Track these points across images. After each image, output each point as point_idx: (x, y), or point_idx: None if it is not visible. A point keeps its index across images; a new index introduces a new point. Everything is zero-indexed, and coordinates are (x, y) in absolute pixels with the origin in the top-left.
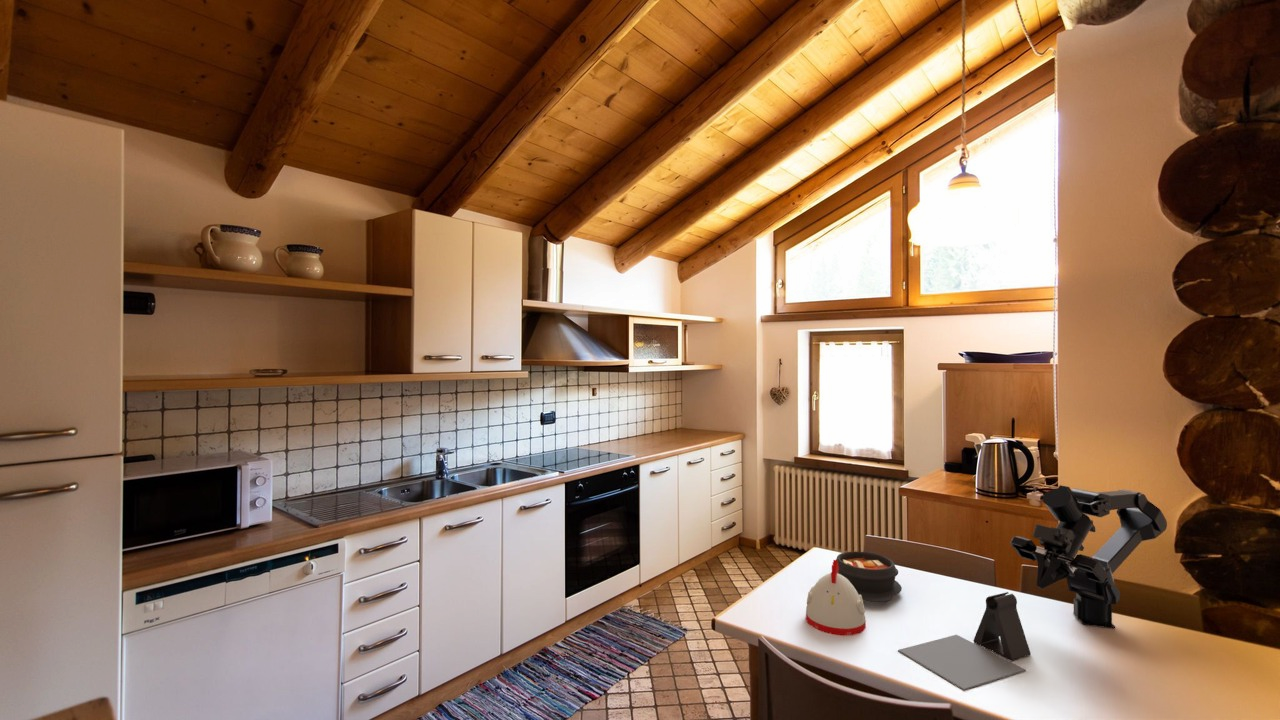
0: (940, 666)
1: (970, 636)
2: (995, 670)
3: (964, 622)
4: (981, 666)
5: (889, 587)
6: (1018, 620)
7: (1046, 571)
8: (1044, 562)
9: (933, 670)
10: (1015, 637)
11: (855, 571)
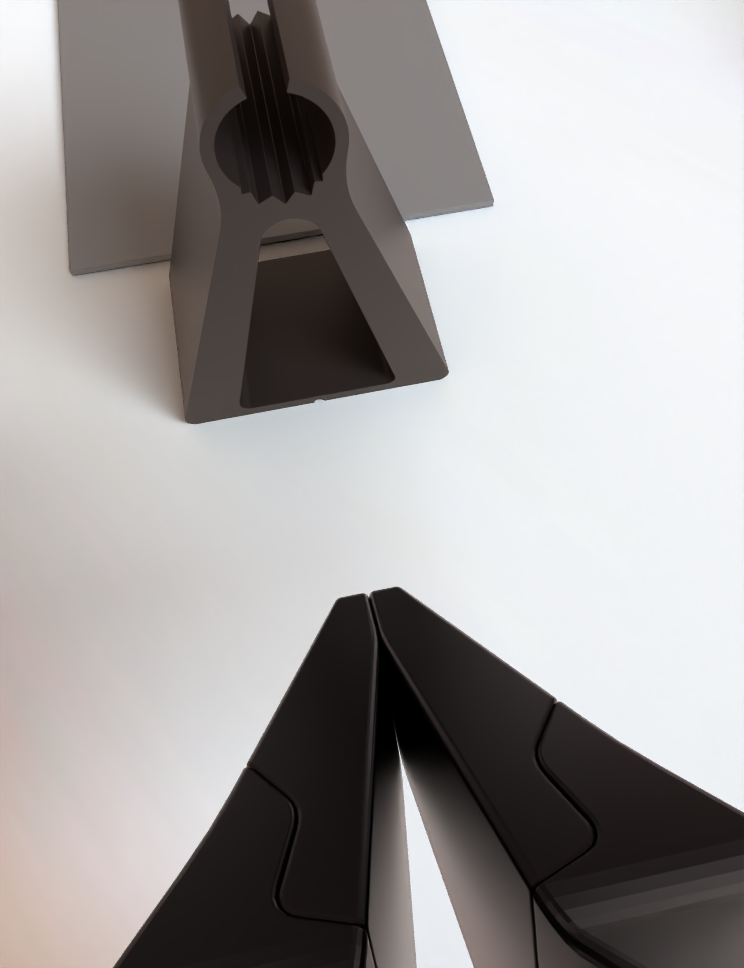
0: None
1: (475, 271)
2: (117, 139)
3: (664, 360)
4: (168, 108)
5: None
6: (207, 267)
7: (352, 784)
8: (578, 949)
9: None
10: (185, 268)
11: None
